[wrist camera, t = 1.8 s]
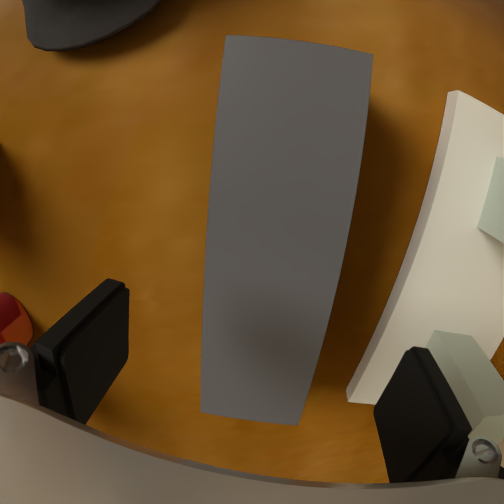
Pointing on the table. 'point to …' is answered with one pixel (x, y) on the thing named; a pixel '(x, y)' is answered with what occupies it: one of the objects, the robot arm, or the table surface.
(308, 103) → the bar
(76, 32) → the casserole
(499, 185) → the stand
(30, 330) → the coffee cup
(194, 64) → the table surface
